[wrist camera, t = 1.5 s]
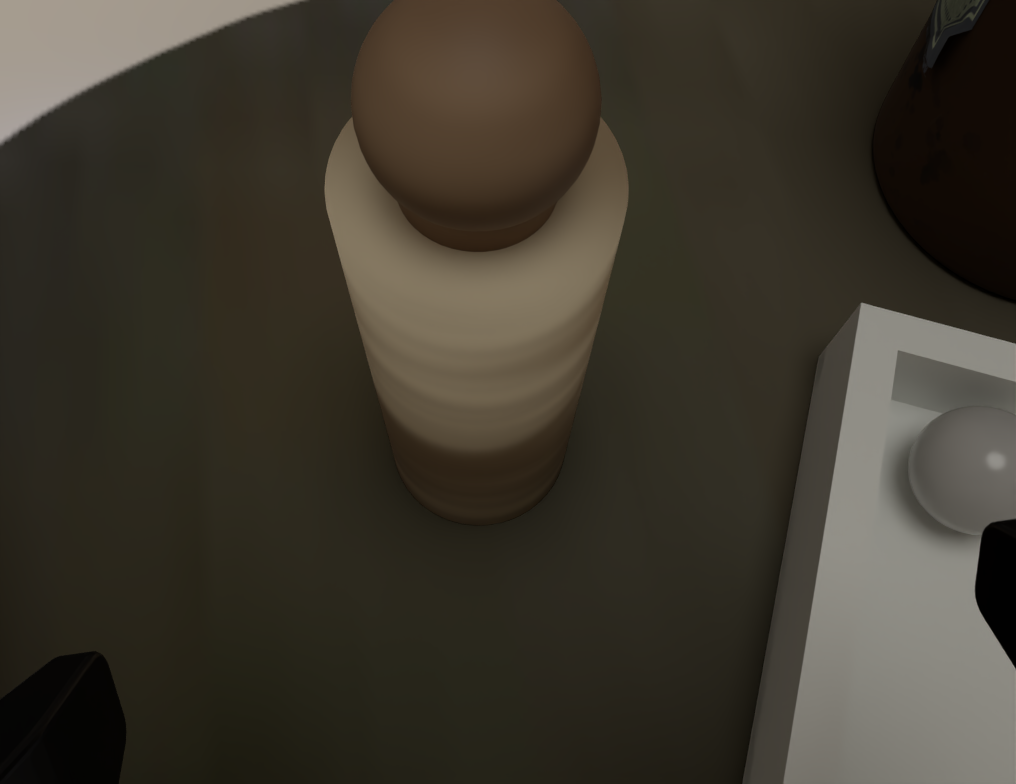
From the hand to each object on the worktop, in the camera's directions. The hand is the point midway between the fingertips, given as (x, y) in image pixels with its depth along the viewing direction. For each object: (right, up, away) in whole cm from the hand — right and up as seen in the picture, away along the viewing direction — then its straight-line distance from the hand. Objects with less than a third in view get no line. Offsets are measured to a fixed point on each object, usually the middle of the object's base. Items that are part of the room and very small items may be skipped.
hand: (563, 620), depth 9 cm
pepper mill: (-1, +1, +14) cm, 14 cm away
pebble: (+10, 0, +13) cm, 17 cm away
